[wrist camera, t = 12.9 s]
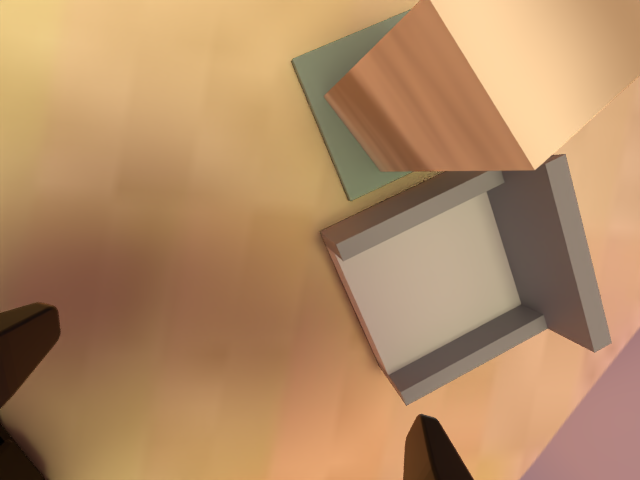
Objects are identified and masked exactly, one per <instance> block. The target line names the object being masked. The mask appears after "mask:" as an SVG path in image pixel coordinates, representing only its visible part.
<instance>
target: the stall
mask: <svg viewBox="0 0 640 480" xmlns="http://www.w3.org/2000/svg"><path fill="white" fill-rule="evenodd" d="M320 234H321V236H322V238H323V240H324V243H325V245H326V247H327V249H328V252H329V254H330V256H331V258H332V261H333V263H334V265H335V267H336V270H337V272H338V274H339V276H340V279H341V281H342V283H343V285H344V288H345V290H346V292H347V294H348V297H349V299H350V301H351V303H352V306H353V308H354V310H355V312H356V315H357V317H358V319H359V321H360V324H361V326H362V328H363V330H364V333H365V335H366V337H367V339H368V342H369V344H370V346H371V348H372V351H373V353H374V355H375V357H376V360H377V362H378V364H379V366H380V368H381V370H382V371H383V373H384V374H385V375H386V377H387V378H388V380H389V381H390V383H391V384H392V386H393V387H394V388H395V390H396V391H397V393H398V394H399V396H400V397H401V399H402V400H403V402H404V403H405V404H406V406H407V405H409V404H410V403H412V402H414V401H416V400H418V399H420V398H421V397H423V396H425V395H427V394H429V393H431V392H432V391H434V390H436V389H438V388H440V387H442V386H443V385H445V384H447V383H449V382H451V381H453V380H454V379H456V378H458V377H460V376H462V375H463V374H465V373H467V372H469V371H471V370H473V369H474V368H476V367H478V366H480V365H482V364H484V363H485V362H487V361H489V360H491V359H493V358H495V357H496V356H498V355H500V354H502V353H504V352H506V351H507V350H509V349H511V348H513V347H515V346H517V345H518V344H520V343H522V342H524V341H526V340H528V339H529V338H531V337H533V336H535V335H537V334H539V333H540V332H542V331H544V330H546V329H550V330H552V331H554V332H556V333H558V334H560V335H561V336H563V337H565V338H567V339H569V340H571V341H573V342H575V343H577V344H579V345H581V346H583V347H585V348H587V349H589V350H591V351H593V352H594V353H595V352H597V351H598V350H600V349H602V348H604V347H605V346H607V345H609V344H611V343H612V342H611V338H610V334H609V330H608V325H607V321H606V317H605V313H604V309H603V305H602V301H601V297H600V293H599V289H598V285H597V281H596V277H595V272H594V268H593V264H592V260H591V256H590V252H589V248H588V244H587V240H586V236H585V232H584V228H583V224H582V219H581V215H580V211H579V207H578V203H577V199H576V195H575V191H574V187H573V183H572V179H571V175H570V171H569V166H568V162H567V158H566V154H561V155H551V156H550V157H549V158H548V159H547V160H546V161H545V162H544V163H542V164H541V165H540V166H539V167H538V168H537V169H536V170H511V171H445V172H443V173H441V174H439V175H437V176H435V177H433V178H431V179H429V180H427V181H424V182H422V183H420V184H418V185H416V186H414V187H412V188H410V189H408V190H405V191H403V192H401V193H399V194H397V195H395V196H393V197H391V198H389V199H387V200H384V201H382V202H380V203H378V204H376V205H374V206H372V207H370V208H368V209H366V210H363V211H361V212H359V213H357V214H355V215H353V216H351V217H349V218H347V219H345V220H342V221H340V222H338V223H336V224H334V225H332V226H330V227H328V228H326V229H324V230H321V231H320Z"/></svg>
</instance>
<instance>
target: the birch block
mask: <svg viewBox="0 0 640 480" xmlns="http://www.w3.org/2000/svg"><path fill="white" fill-rule="evenodd" d="M639 76H640V0H420V1H419V2H418V3H417V4H416V5H415V6H414V7H413V8H412V9H411V10H410V11H409V12H408V13H407V14H406V15H405V16H404V17H403V18H402V19H401V20H400V21H399V22H398V23H397V24H396V25H395V26H394V27H393V28H392V29H391V30H390V31H389V32H388V33H387V34H386V35H385V36H384V37H383V38H382V39H381V40H380V41H379V42H378V43H377V44H376V45H375V46H374V47H373V48H372V49H371V50H370V51H369V52H368V53H367V54H366V55H365V56H364V57H363V58H362V59H361V60H360V61H359V62H358V63H357V64H356V65H355V66H354V67H353V68H352V69H351V70H350V71H349V72H348V73H347V74H346V75H345V76H344V77H343V78H342V79H341V80H340V81H339V82H337V83H336V84H335V85H334V86H333V87H332V88H331V89H330V90H329V91H328V92H327V93H326V94H325V95H324V96H323V97H324V98H325V99H326V101H327V102H328V103H329V105H330V106H331V107H332V108H333V110H334V111H335V112H336V114H337V115H338V116H339V118H340V119H341V120H342V122H343V123H344V124H345V126H346V127H347V128H348V129H349V131H350V132H351V133H352V135H353V136H354V137H355V139H356V140H357V141H358V143H359V144H360V145H361V147H362V148H363V149H364V151H365V152H366V153H367V154H368V156H369V157H370V158H371V160H372V161H373V162H374V164H375V165H376V166H377V168H378V169H379V170H380V172H407V171H511V170H536V169H537V168H538V167H539V166H540V165H541V164H542V163H544V162H545V161H546V160H547V159H548V158H549V157H550V156H551V155H552V154H554V153H555V152H556V151H557V150H558V149H559V148H560V147H561V146H562V145H564V144H565V143H566V142H567V141H568V140H569V139H570V138H571V137H572V136H574V135H575V134H576V133H577V132H578V131H579V130H580V129H581V128H582V127H584V126H585V125H586V124H587V123H588V122H589V121H590V120H591V119H592V118H594V117H595V116H596V115H597V114H598V113H599V112H600V111H601V110H602V109H604V108H605V107H606V106H607V105H608V104H609V103H610V102H611V101H612V100H614V99H615V98H616V97H617V96H618V95H619V94H620V93H621V92H622V91H624V90H625V89H626V88H627V87H628V86H629V85H630V84H631V83H632V82H633V81H635V80H636V79H637V78H638V77H639Z"/></svg>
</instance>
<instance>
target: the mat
mask: <svg viewBox="0 0 640 480" xmlns="http://www.w3.org/2000/svg"><path fill="white" fill-rule="evenodd" d="M409 11H410V10H408V11H406V12H403V13H401V14H399V15H396V16H394V17H392V18H389V19H387V20H384V21H382V22H380V23H377V24H375V25H372V26H370V27H368V28H365V29H363V30H360V31H358V32H356V33H353V34H351V35H348V36H346V37H344V38H341V39H339V40H336V41H334V42H332V43H329V44H327V45H325V46H322V47H320V48H317V49H315V50H313V51H310V52H308V53H305V54H303V55H301V56H298V57H296V58H293V59H292V61H291V62H292V64H293V67H294V69H295V72H296V74H297V77H298V79H299V81H300V84H301V86H302V89H303V91H304V93H305V96H306V98H307V101H308V103H309V106H310V108H311V110H312V113H313V115H314V118H315V120H316V123H317V125H318V127H319V130H320V132H321V135H322V137H323V139H324V142H325V144H326V147H327V149H328V152H329V154H330V156H331V159H332V161H333V164H334V166H335V169H336V171H337V173H338V176H339V178H340V181H341V183H342V185H343V188H344V190H345V193H346V195H347V198H348V200H349V201H352V200H354V199H356V198H358V197H361V196H363V195H365V194H367V193H369V192H371V191H373V190H375V189H378V188H380V187H382V186H384V185H386V184H388V183H390V182H392V181H395V180H397V179H399V178H401V177H403V176H405V175H407V174H409V173H412V172H414V171H407V172H380V170H379V169H378V168H377V166H376V165H375V164H374V162H373V161H372V160H371V158H370V157H369V156H368V154H367V153H366V152H365V151H364V149H363V148H362V147H361V145H360V144H359V143H358V141H357V140H356V139H355V137H354V136H353V135H352V133H351V132H350V131H349V129H348V128H347V127H346V126H345V124H344V123H343V122H342V120H341V119H340V118H339V116H338V115H337V114H336V112H335V111H334V110H333V108H332V107H331V106H330V105H329V103H328V102H327V101H326V99H325V98H324V97H323V96H324V95H325V94H326V93H327V92H328V91H329V90H330V89H331V88H332V87H333V86H334V85H335V84H336V83H337V82H339V81H340V80H341V79H342V78H343V77H344V76H345V75H346V74H347V73H348V72H349V71H350V70H351V69H352V68H353V67H354V66H355V65H356V64H357V63H358V62H359V61H360V60H361V59H362V58H363V57H364V56H365V55H366V54H367V53H368V52H369V51H370V50H371V49H372V48H373V47H374V46H375V45H376V44H377V43H378V42H379V41H380V40H381V39H382V38H383V37H384V36H385V35H386V34H387V33H388V32H389V31H390V30H391V29H392V28H393V27H394V26H395V25H396V24H397V23H398V22H399V21H400V20H401V19H402V18H403V17H404V16H405V15H406V14H407V13H408V12H409Z"/></svg>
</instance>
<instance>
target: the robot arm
mask: <svg viewBox="0 0 640 480" xmlns="http://www.w3.org/2000/svg"><path fill="white" fill-rule="evenodd" d="M60 332H61V331H60V322H59V314H58V310H57V308H56V307H55V306H52V305H49V304H45V303H41V302H37V303H33V304H30V305H26V306H23V307H20V308H16V309H13V310H9V311H6V312H3V313H0V409H1V408H2V407H3V406H4V404H5V403H6V402H7V401H8V400H9V399H10V398H11V397H12V396H13V395H14V393H15V392H16V391H17V390H18V389H19V388H20V386H21V385H22V384H23V383H24V381H25V380H26V379H27V378H28V377H29V375H30V374H31V373H32V372H33V370H34V369H35V368H36V367H37V366H38V364H39V363H40V362H41V361H42V359H43V358H44V357H45V356H46V354H47V353H48V352H49V351H50V350H51V348H52V347H53V346H54V345H55V343H56V342H57V341H58V339H59V336H60ZM0 480H45V479H44V477H43V476H42V475H41V474H40V472H39V471H38V470H37V469H36V467H35V466H34V465H33V464H32V462H31V461H30V460H29V459H28V457H27V456H26V455H25V454H24V452H23V451H22V450H21V449H20V447H19V446H18V445H17V444H16V442H15V441H14V440H13V439H12V437H11V436H10V435H9V434H8V432H7V431H6V430H5V429H4V427H3V426H2V425H1V424H0ZM403 480H474V479H473V477H472V476H471V474H470V472H469V471H468V469H467V467H466V466H465V464H464V462H463V461H462V459H461V457H460V456H459V454H458V452H457V451H456V449H455V448H454V446H453V444H452V443H451V441H450V439H449V438H448V436H447V434H446V433H445V431H444V429H443V428H442V426H441V424H440V423H439V421H438V420H437V419H436V418H434V417H431V416H427V415H424V414H419V415H418V416H417V417H416V419H415V421H414V423H413V425H412V427H411V429H410V431H409V433H408V435H407V437H406V442H405V455H404V474H403Z"/></svg>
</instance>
